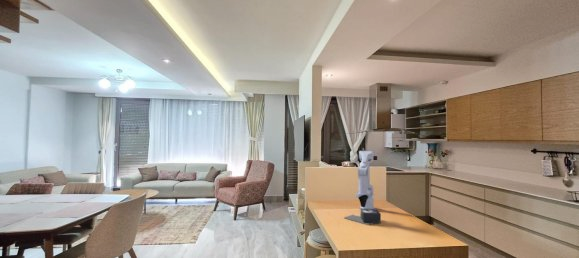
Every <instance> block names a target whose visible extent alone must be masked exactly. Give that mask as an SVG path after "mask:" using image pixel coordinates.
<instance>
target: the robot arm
mask: <svg viewBox="0 0 579 258" xmlns="http://www.w3.org/2000/svg"><path fill="white" fill-rule="evenodd" d="M358 153H359V154H358V158H359V161H361V162H360V163H359V167H358V168H357V177H358V192H357V193H355V197H356V198H358V200H359V204H360V207H359V209H361V208H365V209H376V207H375V206H374V204H375V203H374V202H375V201H374V200H375V199H374V186H373V185H372V184H371V183H370V172H371V171H370V164H371V163H372V162H373V161H374V151H373V150H359V152H358Z"/></svg>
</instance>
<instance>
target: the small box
mask: <svg viewBox="0 0 579 258" xmlns="http://www.w3.org/2000/svg"><path fill="white" fill-rule="evenodd" d="M381 216H382V215H381V213H380V211H379V210H378V209H377V208H374V209H365V208H360V217H361V219H362V220H363V222H364V223H373V224H381V219H382V217H381Z"/></svg>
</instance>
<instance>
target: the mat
mask: <svg viewBox="0 0 579 258" xmlns="http://www.w3.org/2000/svg"><path fill="white" fill-rule="evenodd" d="M343 219H345V220H350V221H352V222H355V223H358V224H363V225H366V226H371V225H373V224H374V223H364V222H363V220H362V219H361V215H360V216H359V215H355V214H350V215H348V216H344V217H343Z"/></svg>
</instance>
